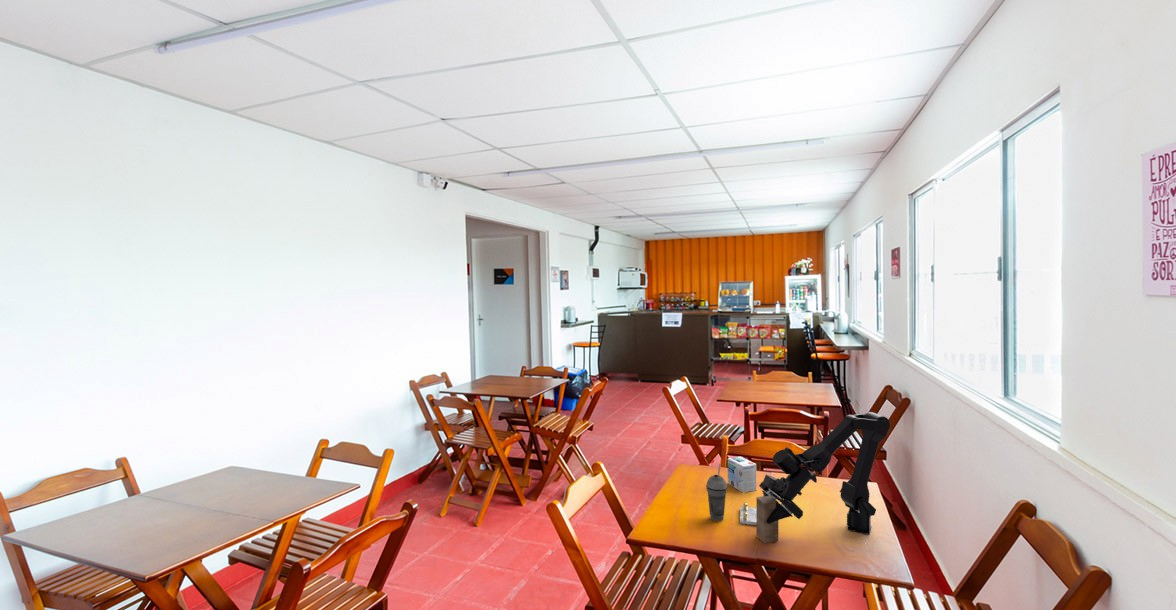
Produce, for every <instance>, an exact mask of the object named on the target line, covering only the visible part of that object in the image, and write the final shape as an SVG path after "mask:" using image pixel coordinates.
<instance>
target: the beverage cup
mask: <svg viewBox="0 0 1176 610" xmlns="http://www.w3.org/2000/svg"><path fill="white" fill-rule="evenodd" d="M720 472H721V463H718V471H717V474H713V475H711V476H709V477H708V479H707V481H706V492H707V498H708V500H707V501H708V509H709V517H710V518H711V519H710V518H709V519H710V520H711V521H712V520H713V521H712V522H716V521H721V522H723V521H724V517H725V509H726V508H725V507H726V495H727V491H728V485H727V484H728V483H727V482H726V480H725V478H724V477H723V476H721V475H720ZM722 520H723V521H722Z"/></svg>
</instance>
